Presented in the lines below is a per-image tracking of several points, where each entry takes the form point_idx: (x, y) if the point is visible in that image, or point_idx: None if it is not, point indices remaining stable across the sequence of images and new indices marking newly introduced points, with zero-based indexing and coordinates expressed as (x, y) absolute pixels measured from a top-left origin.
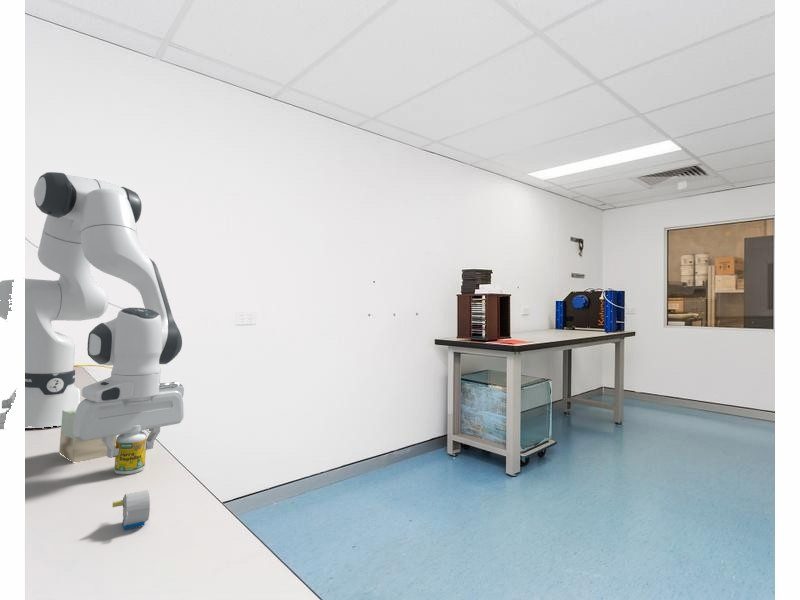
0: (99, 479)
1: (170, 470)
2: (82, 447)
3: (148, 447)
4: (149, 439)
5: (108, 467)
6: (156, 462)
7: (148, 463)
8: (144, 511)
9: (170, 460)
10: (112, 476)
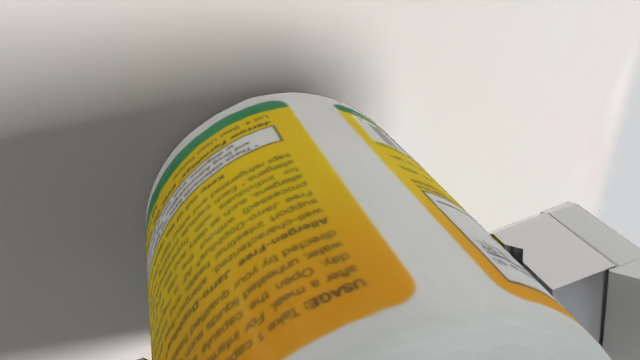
0: (9, 325)
1: None
2: None
3: None
4: (618, 327)
5: (89, 13)
6: (518, 98)
7: (458, 91)
8: None
9: (616, 102)
10: (123, 294)
